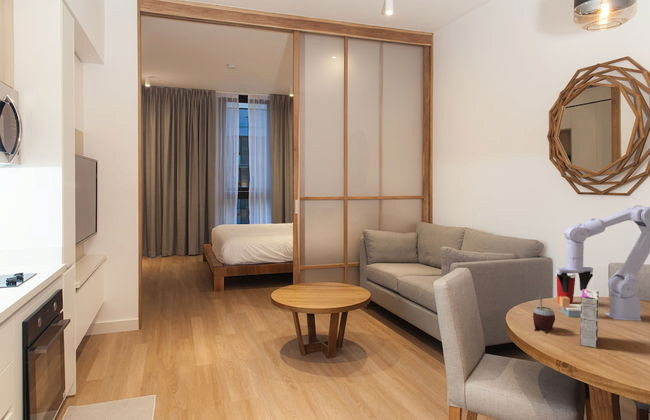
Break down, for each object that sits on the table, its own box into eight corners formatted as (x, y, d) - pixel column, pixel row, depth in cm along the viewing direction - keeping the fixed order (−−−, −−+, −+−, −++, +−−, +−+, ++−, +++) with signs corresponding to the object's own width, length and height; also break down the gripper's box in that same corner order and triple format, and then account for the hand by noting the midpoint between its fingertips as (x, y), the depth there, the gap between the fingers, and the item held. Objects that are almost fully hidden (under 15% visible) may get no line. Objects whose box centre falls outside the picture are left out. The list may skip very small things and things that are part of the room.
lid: (583, 307, 176) (583, 295, 175) (591, 312, 169) (592, 300, 168) (557, 306, 177) (557, 295, 176) (564, 311, 170) (565, 299, 169)
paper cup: (573, 303, 190) (574, 271, 189) (577, 308, 182) (578, 275, 181) (553, 301, 192) (554, 270, 191) (556, 306, 185) (557, 273, 184)
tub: (582, 313, 175) (582, 306, 175) (590, 318, 169) (590, 311, 169) (561, 312, 176) (561, 305, 176) (568, 318, 170) (568, 310, 170)
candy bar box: (580, 335, 152) (582, 288, 151) (597, 337, 149) (599, 290, 148) (579, 345, 143) (580, 296, 141) (597, 348, 140) (599, 298, 139)
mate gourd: (549, 327, 160) (550, 287, 159) (559, 335, 152) (560, 292, 151) (528, 327, 160) (529, 286, 159) (537, 334, 152) (538, 292, 151)
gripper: (584, 254, 176) (583, 287, 177) (551, 256, 174) (550, 289, 175) (597, 257, 169) (596, 292, 170) (563, 259, 167) (562, 294, 168)
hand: (574, 291), depth 172 cm, fingers open, 7 cm apart
